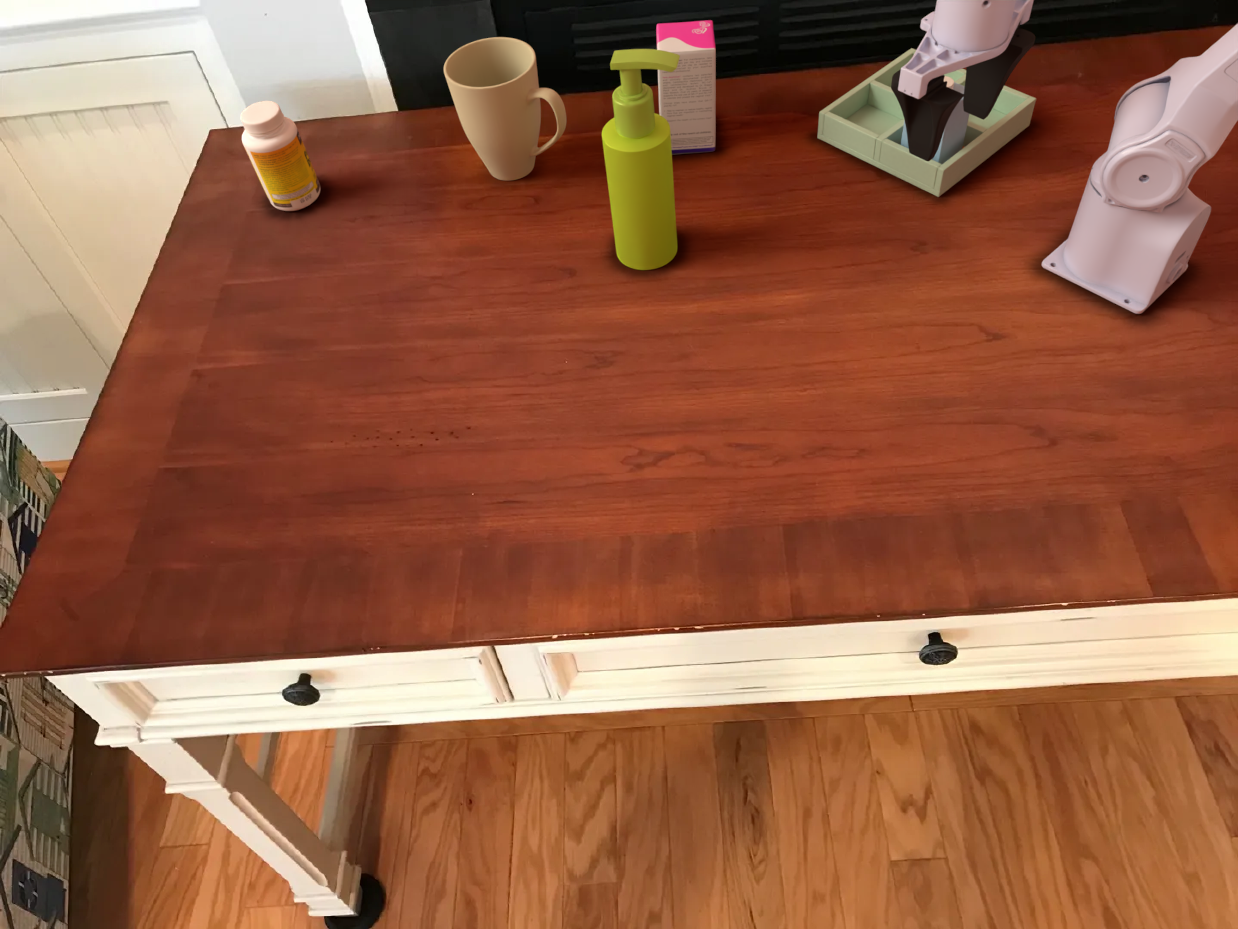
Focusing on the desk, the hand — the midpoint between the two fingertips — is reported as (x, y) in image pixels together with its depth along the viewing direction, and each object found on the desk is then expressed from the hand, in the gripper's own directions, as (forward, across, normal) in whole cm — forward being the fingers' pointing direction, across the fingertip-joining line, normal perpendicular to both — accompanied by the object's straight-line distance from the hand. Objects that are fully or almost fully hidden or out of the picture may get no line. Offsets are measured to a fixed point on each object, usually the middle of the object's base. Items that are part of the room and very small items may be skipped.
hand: (948, 134), depth 84 cm
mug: (+11, +19, -38) cm, 44 cm away
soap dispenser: (+11, +19, -18) cm, 28 cm away
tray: (+10, -12, -10) cm, 19 cm away
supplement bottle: (+11, +38, -53) cm, 66 cm away
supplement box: (+11, +4, -28) cm, 30 cm away
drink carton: (+10, -8, -6) cm, 14 cm away
